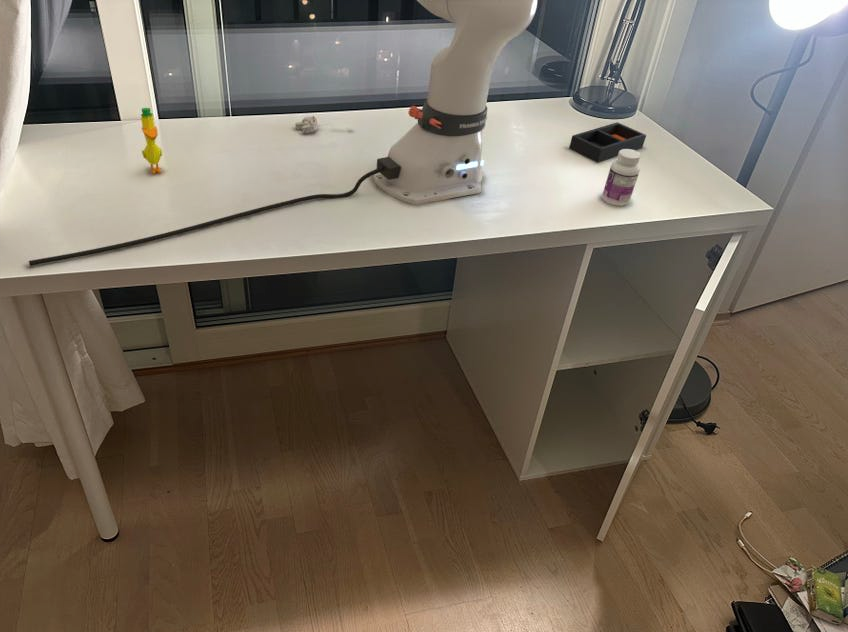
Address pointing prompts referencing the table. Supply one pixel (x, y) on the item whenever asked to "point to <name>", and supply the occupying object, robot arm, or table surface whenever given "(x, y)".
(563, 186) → the table surface
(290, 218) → the table surface
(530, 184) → the table surface
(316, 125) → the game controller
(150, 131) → the toy figure
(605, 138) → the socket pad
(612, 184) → the pill bottle
